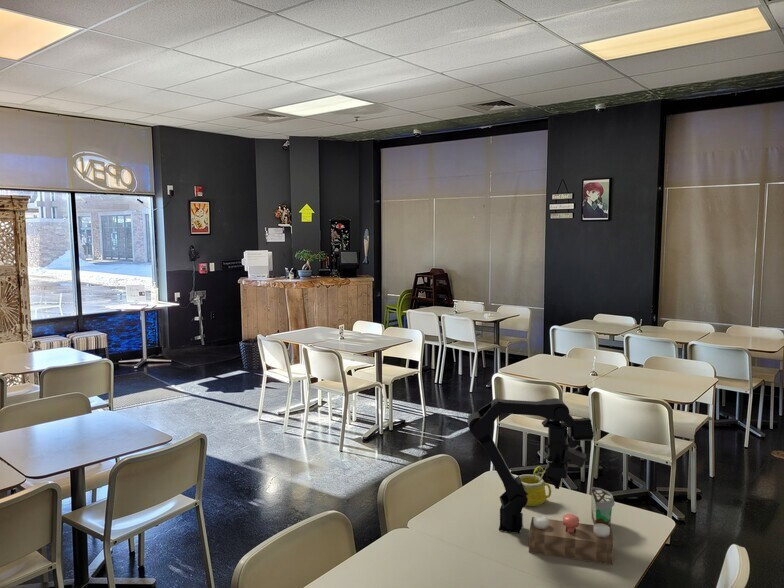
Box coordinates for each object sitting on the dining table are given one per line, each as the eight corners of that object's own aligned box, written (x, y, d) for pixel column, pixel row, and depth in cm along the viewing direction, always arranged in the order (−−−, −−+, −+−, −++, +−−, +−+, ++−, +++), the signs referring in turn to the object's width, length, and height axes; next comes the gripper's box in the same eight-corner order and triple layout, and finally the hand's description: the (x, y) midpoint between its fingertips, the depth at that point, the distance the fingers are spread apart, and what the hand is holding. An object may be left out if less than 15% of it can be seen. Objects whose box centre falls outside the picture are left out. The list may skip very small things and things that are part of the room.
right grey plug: (593, 555, 167) (593, 529, 167) (593, 547, 172) (593, 522, 171) (609, 557, 166) (610, 531, 165) (609, 549, 170) (609, 524, 169)
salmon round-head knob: (562, 545, 170) (562, 520, 169) (563, 537, 174) (563, 513, 173) (578, 547, 169) (578, 522, 168) (578, 540, 173) (578, 515, 172)
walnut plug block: (528, 552, 171) (528, 532, 170) (532, 535, 180) (532, 516, 179) (612, 564, 163) (613, 544, 163) (611, 546, 173) (612, 527, 172)
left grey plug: (532, 546, 173) (532, 521, 172) (533, 539, 177) (534, 514, 176) (547, 548, 171) (548, 523, 171) (548, 541, 176) (549, 516, 175)
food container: (617, 535, 179) (617, 504, 178) (596, 534, 180) (596, 503, 179) (610, 517, 191) (611, 487, 190) (590, 515, 192) (591, 486, 191)
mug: (517, 508, 198) (517, 474, 197) (511, 494, 209) (511, 462, 208) (555, 508, 198) (555, 474, 196) (547, 494, 208) (547, 462, 207)
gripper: (584, 453, 170) (584, 504, 172) (585, 432, 188) (584, 479, 189) (545, 449, 174) (545, 499, 175) (549, 429, 191) (549, 475, 193)
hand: (557, 488), depth 183 cm, fingers closed
